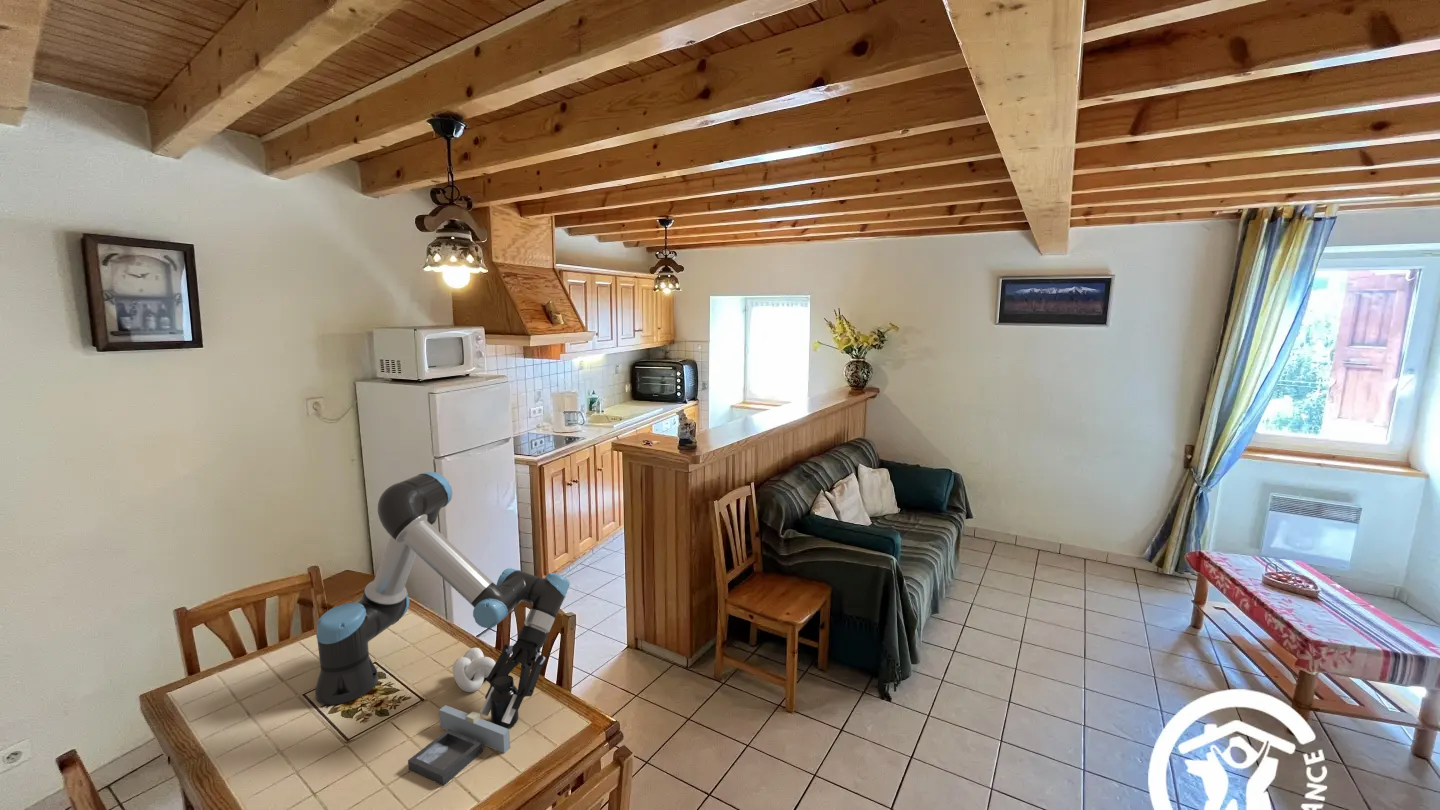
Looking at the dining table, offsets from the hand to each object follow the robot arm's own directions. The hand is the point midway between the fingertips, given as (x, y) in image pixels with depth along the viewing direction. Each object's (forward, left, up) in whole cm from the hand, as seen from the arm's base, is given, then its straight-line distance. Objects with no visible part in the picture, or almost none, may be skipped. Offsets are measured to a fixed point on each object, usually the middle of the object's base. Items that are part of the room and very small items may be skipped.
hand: (494, 718), depth 146 cm
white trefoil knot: (-20, +13, -4) cm, 24 cm away
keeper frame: (-3, -12, -3) cm, 13 cm away
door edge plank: (-3, -4, -3) cm, 6 cm away
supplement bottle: (0, +4, -4) cm, 5 cm away
